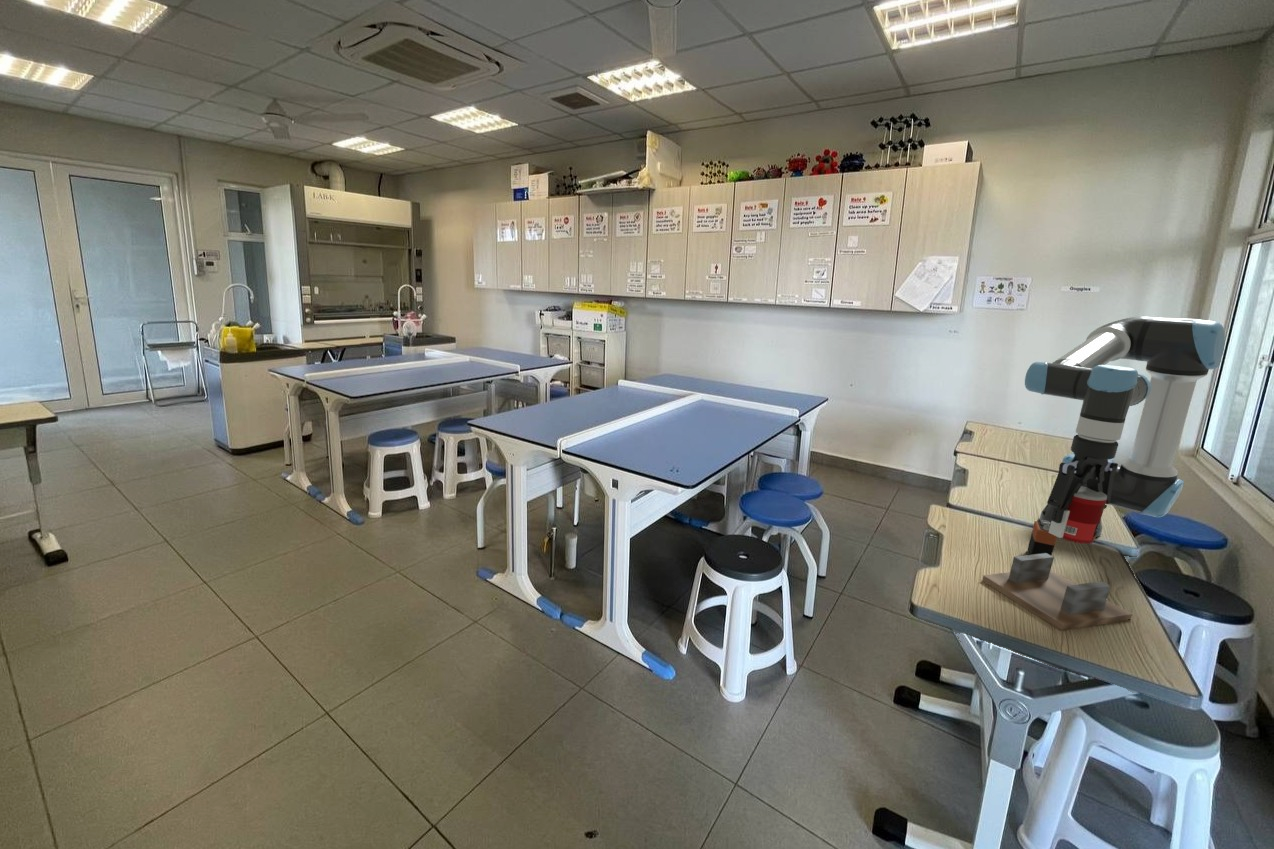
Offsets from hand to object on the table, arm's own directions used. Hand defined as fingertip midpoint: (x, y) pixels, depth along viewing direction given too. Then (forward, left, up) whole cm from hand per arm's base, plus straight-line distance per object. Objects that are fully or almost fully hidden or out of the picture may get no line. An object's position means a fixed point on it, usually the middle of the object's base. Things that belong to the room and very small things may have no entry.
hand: (1070, 533), depth 122 cm
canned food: (0, 0, -1) cm, 1 cm away
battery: (-16, -17, -17) cm, 29 cm away
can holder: (0, 0, -17) cm, 17 cm away
